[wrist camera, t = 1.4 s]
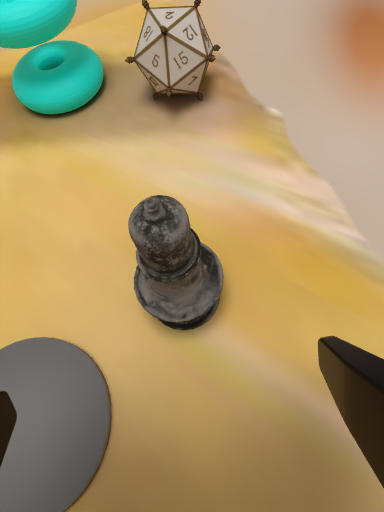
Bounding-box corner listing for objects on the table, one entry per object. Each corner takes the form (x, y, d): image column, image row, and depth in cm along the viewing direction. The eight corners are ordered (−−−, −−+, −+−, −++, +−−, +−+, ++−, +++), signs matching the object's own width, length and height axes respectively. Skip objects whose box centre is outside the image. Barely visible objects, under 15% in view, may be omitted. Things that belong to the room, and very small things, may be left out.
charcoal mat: (137, 469, 19) (133, 472, 18) (-42, 574, 17) (-53, 582, 17) (81, 313, 23) (77, 310, 23) (-62, 386, 22) (-72, 385, 21)
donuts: (56, -55, 29) (78, -9, 25) (96, 53, 38) (117, 101, 34) (-48, -24, 28) (-45, 30, 24) (17, 79, 37) (28, 131, 33)
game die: (168, 118, 37) (110, 33, 32) (228, 71, 35) (177, -27, 30) (172, 134, 30) (98, 27, 25) (248, 77, 28) (185, -53, 23)
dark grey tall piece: (135, 322, 23) (54, 246, 12) (160, 252, 25) (112, 137, 14) (212, 343, 21) (199, 281, 11) (231, 268, 24) (237, 155, 13)
